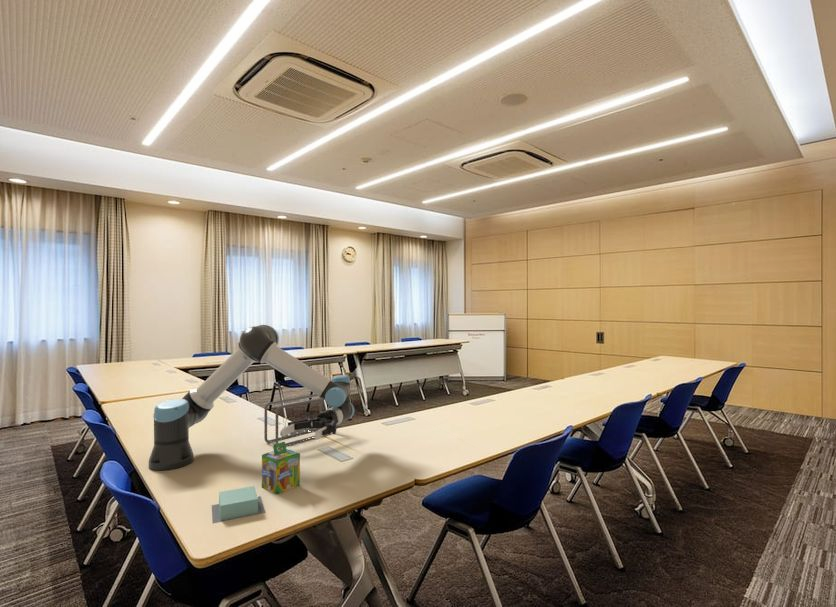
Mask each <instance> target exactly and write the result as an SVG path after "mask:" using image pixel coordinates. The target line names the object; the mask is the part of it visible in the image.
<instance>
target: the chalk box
mask: <svg viewBox="0 0 836 607" xmlns="http://www.w3.org/2000/svg"><path fill="white" fill-rule="evenodd" d="M285 443H286V441H281V442H278V444H273V446H272V447H273V451H269V452H266V453H263V454H261V488H262V489H264V490H266V491H268V492H269V493H270V492H271V493H272V494H274V495H281V494H283V493H285V492H287V491H290V490H292V489H295V488H297V487H299V486H300V480H301V479H300V478H301V476H300V475H301V474H300V473H301V472H300V470H301V462H300V461H301V458H300V457H301V454H300V453H299V452H296V451H294V450H292V449H287V446H286V445H285ZM279 446H282V447H281V448H280V449H278V448H279Z"/></svg>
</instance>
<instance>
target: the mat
mask: <svg viewBox="0 0 836 607" xmlns="http://www.w3.org/2000/svg"><path fill="white" fill-rule="evenodd" d="M257 497H258V513H253V514H248V515H243V516H238V517H233V518H228V519H223V520H220V511H219V503H217V504H212V505H211V516H212V517H211V520H212V524H217V523H222V522H226V521H227V522H228V521H231V520H236V519H237V520H238V519H241V518H247V517H251V516H256V515H261V514H266V509H265V506H264V503H263V500H262V497H261V495H260V496H257Z"/></svg>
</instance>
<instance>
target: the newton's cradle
mask: <svg viewBox="0 0 836 607" xmlns="http://www.w3.org/2000/svg"><path fill="white" fill-rule="evenodd" d="M316 397H318V398H316ZM310 398H311V399H310ZM313 398H314V399H313ZM302 400H303V401H302ZM294 401H297V402H294ZM323 401H325V400H324V399H323V398H321V397H320V396H318V395H316V394H315V393H313V394H309V395H304V396H299V397H298V396H297V397H291V398H288V399H282V400H277V401H270V402H268V403H266V404H265V406H264V411H263V412H264V418H263V419H264V428H263V429H264V442H266V443H268V442H271V444H273V445H275V444H278V443H279V441H281V440H280V439H282V440H285V438H286V439H289V438H288V437H290V438H293V437H292V436H294V437H297V436H296V435H298V436H301V435H300V434H302V435H304V434H303V433H306V434H308V433H307V432H308V430H309V431H311V432H310V433H313V432H314V433H315V432H316V431H317V430H319V429H321V428H313V429H310V428H305V429H299V430H294V432H293V433H290V434H288V435H286V436H282V429H281V430H280V432H279V411H280V409H285V408H286V409H287V411H286V413H288V411H289V408H290V409H292V407H295V408H294V410H296V408H297V406H300V405H302V406H303V405H304V406H305V410H307V408H306V405H307V404H311V406H312V408H314V407H313V403H319V414H320V413H321V412H323ZM278 404H279V405H278ZM280 404H282V405H280ZM269 406H274V407H277V408H276V409H275V438H273V439H268V407H269ZM301 408H302V409H301V413H303V411H304V410H303V409H304V407H301ZM297 409H298V410H297V411H298V413H300V411H299V410H300V409H299V408H297ZM317 409H318V407H316V411H317ZM310 411H311V408H309V410H308V413H310ZM290 415H291V416H290V417H291V419H293V420H295V416H296V414H294V416H293V414H292V413H290ZM305 415H306V416H305V419H306V418H308V417H307V414H305ZM284 416H285V414H282V419H283V422H285V421H287V419H288V416H286V418H284ZM312 416H313V418H314V419H315V418H317V415H315V414H314V413H313V414H312ZM293 417H294V418H293ZM300 417H301V419H300ZM300 417H298V420H302V419H303V416H300ZM312 426H313V425H312V423H311V427H312ZM285 427H287V423H284V428H285ZM279 434H280V437H279ZM325 436H328V435H327V434H326V435H324V436H323V437H325ZM312 437H315V435H312V436H309V437H305V438H301V439H298V440H293V441H290V442H289V441H288V442H285V445H288V446H290V445H289V444H292V445H294V444H293V443H295V444H298V443H297V442H299V443H301V442H300V441H303V440H306V439H308V438H312ZM273 441H274V442H273ZM303 442H304V441H303ZM268 444H269V443H268ZM279 447H280V448H283V447H282V446H279ZM279 447H278V448H279Z"/></svg>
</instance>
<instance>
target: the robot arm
mask: <svg viewBox="0 0 836 607" xmlns="http://www.w3.org/2000/svg"><path fill="white" fill-rule="evenodd" d="M279 342H280V338H279V333H278V332H277V330H276V329H275V328H274V327H272V326H270V325H268V324H259V325H256V326H255V325H254V326H249V327H248V328H246V329H244V331H243V332H241V335H240V337H239V342H238V343H237V349H236V350H235V351H234V352H233V353H232V354H230V356H228V358H227V359H225V361H223V363H222V364H221V365H220V366H219V367H217V369H215V371H213V372H212V374H211V375H210V376H208V377H207V378H206V380H204V381H203V383H201V384H200V385H199V386H198V387H197V388H191V389H190V390H188V392H187V393H186V394H185V395H184V396H182V398H173V399H168V400H164V401H161V402H160V403H158V404H156V406H155V407H154V409H153V410H154V411H153V412H154V413H153V447H152V449H151V450H152V451H151V454H150V457H149V459H148V469H150V470H153V471H154V470H155V471H167V470H169V471H170V470H174V469H178V468H182V467H185V466H188V465H190V464H192V463H193V461H195V460H194V458H195V457H194V451H193V449H192V446H191V444H190V441H189V437H190V436H189V434H190V433H189V432H190V431H189V430H190V428H191V427H193V426H195V425H196V424H199V423H201V422H202V421H204V420H205V418H206V417H207V416H208V414H209V412H210V411H212V409H213V408H214V407H215V405H214V402H215V401H216V400H217V399H218V398H219V397H220V396H221V395H222V394H223V393H224V392H225V391H226V390H227V389H228V388H229V387H230V386H231V385H233V383H235V382H236V380H237V379H238V378H239V377H241V375H242V374H244V372H246V370H248V368H249V367H250V366H251V365H252V364H253V363H260V364H267V365H268V366H270V367H272V368H274V369H275V370H276V371H278V372H280V373H281V374H283V375H284V376H286V377H288V378H289V379H290V380H292V381H294V382H295V383H297V384H299V385H301V386H302V387H304V388H305V389H307V390H309V391H310V392H312V393H313V394H316V395H318V396H317V397H319V396H320V397H321V398H323V399H324V400H323V401H325V403H326V405H328V406H329V407H330V408H328V409H326V410H322V412H321V413H320V412H319V414H318V415H317V416H316V418H315V417H314V418H311V417H307V418H306V417H305V418H302V420H301V419H300V420H299V419H298V420H292V421H289V422H287V425H286V427H285V426H284V427H282V428H281V430H282V436H286V435H288V434H289V435H290V433H293V432H294V430H299V429H305V428H310V429H311V430H312V429H313V428H321V429H319V430H317V431H314V436H315V438H314V440H319V439H321V438H323V437H325V436H327V435H326V434H329V435H331V434H332V435H335V434H336V433H337V429H338V428H339V425H341V424H342V423H344V422H347V421H349V420H350V419H351V418H352V417H353V416H354V414H355V412H356V411H355V407H354V405H353V403H352V402H351V378H350V376H349V375H346V374H338V375H334V376H332V378H331V379H329V378H328V377H327V376H325V375H324V374H322V373H320V372H318V371H317V370H315V369H314V368H312V367H311V366H309V365H308V364H306V363H304V362H303V361H301V360H299V359H298V358H296V357H295V356H293V355H292V354H291V353H288V352H286V351H285V350H284V349H282V348H280V347H279V346H278V344H279ZM320 397H319V398H320ZM311 423H312V425H313V426H312V427H311ZM324 435H325V436H324ZM282 436H281V437H282Z"/></svg>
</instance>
